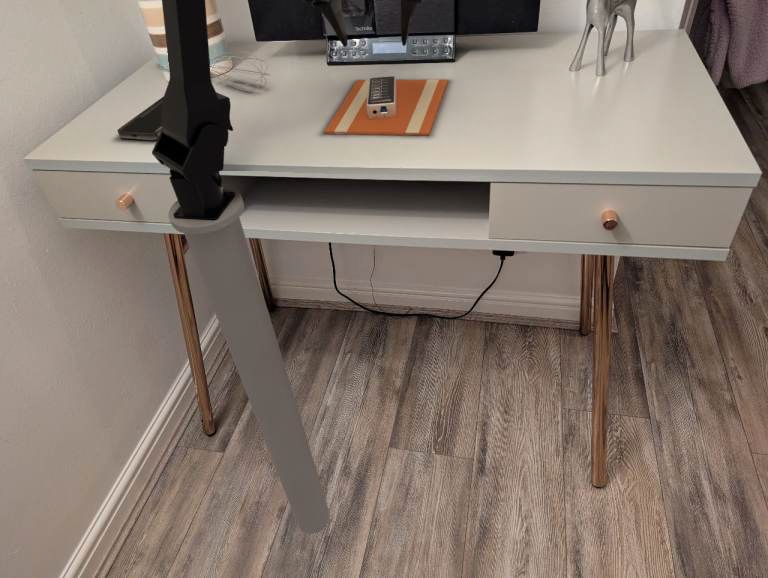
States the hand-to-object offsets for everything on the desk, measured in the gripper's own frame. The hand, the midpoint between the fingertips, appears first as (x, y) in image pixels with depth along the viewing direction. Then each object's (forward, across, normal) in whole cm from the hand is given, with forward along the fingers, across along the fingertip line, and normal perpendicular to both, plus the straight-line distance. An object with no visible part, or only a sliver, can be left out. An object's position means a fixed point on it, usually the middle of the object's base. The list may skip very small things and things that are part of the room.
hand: (374, 45), depth 87 cm
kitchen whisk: (+10, +36, -12) cm, 40 cm away
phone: (+10, +36, +6) cm, 38 cm away
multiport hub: (+9, 0, 0) cm, 9 cm away
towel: (+10, -2, 0) cm, 10 cm away
